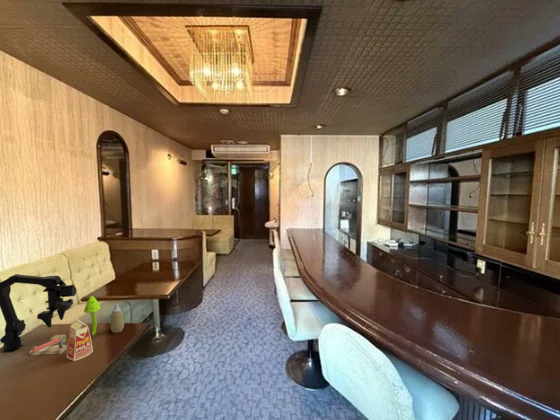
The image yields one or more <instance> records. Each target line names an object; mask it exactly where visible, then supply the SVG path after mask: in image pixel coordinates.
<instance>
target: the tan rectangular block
mask: <svg viewBox="0 0 560 420" xmlns="http://www.w3.org/2000/svg"><path fill="white" fill-rule="evenodd" d="M59 337H62V344H63V345H64V343H66V342H67V340H68V339H67V334H55V335H53V336H52V337H51V338H49V342H50V341H52V340H54V339H56V338H59ZM65 341H66V342H65ZM57 345H59V342H57V343H55V344H53V345H52V346H57Z"/></svg>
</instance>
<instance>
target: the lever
mask: <svg viewBox="0 0 560 420" xmlns="http://www.w3.org/2000/svg"><path fill="white" fill-rule="evenodd" d="M59 341H62V337H59V338H56V339H54V340H52V341H50V340H49V341H48V342H45V343H43V344H40V345H38V346H36V348H34V349H33V352H37V351H40V350H42V349H44V348H46V347H48V346H54V345H53V344H55V343H57V342H59Z"/></svg>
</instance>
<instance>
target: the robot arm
mask: <svg viewBox="0 0 560 420" xmlns="http://www.w3.org/2000/svg"><path fill="white" fill-rule="evenodd" d="M15 283H16V284H27V285H36V286H37V285H38V286H41V287H43V288H44V289H43V290H42V292H43V293H47V300H46V301H45V303H46V304H47V306H48V307H46V308H45V309H46V310H43V311H41V312H39V313H38V314H37V315H36V318H37V319H38V320H41V321H42V322H44V324H45V325H46V327H48V328H51V327H52V319H53V318H54V317H55V315H54V312H57V314H58V318H59V320H61V321H63V319H64V316H65V314H66V311H68V310H69V309H71V308H72V305H74V301H73V300H74V299H73V298H70V297H75V296H76V294H77V287H76V286H75V284H68V285H67V283H66V282H65V281H63V279H62V278H61V276H59V275H47V276H39V275H38V276H37V275H25V274H19V273H16V274H13V275H11V276H9V277H8V278H6V279H4V280H2V281H0V311H1V314H2V316H3V319H4V321H5V327H4V334H5V335H4V336H2V337H1V338H0V343H1V344H3V350H1V353H13V352H15V351H18V350H19V349H20V348H21V347H23V346H24V344H22V340H21V335H22V334H23V332H24V331H25V329H26V326H27V324H26V322H25V320H24V319H19V318H18V316H17V312H16V310H15V307H14V304H13V301H12V298H11V297H10V295H11V290H12V289H11V286H13V285H14V284H15ZM68 297H69V299H68V300H67V299H66V300H64V298H68Z"/></svg>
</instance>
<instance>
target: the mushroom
mask: <svg viewBox="0 0 560 420" xmlns="http://www.w3.org/2000/svg"><path fill="white" fill-rule="evenodd" d="M100 309H101V306H100V304H99V302H98V299H96V298H95V296H94V295H91V296H90V297H89V298H88V299H87V302H86V305H85V306H84V311H83V312H84V314H90V315H91V320H92V321H91V323H92V325H91V326H92V329H91V336H95V335H96V333H97V328H98V321H97V316H96V312H99V310H100ZM94 334H95V335H94Z"/></svg>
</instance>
